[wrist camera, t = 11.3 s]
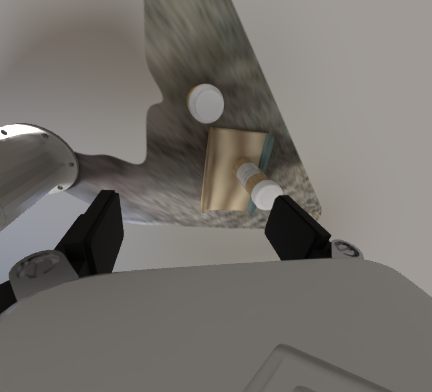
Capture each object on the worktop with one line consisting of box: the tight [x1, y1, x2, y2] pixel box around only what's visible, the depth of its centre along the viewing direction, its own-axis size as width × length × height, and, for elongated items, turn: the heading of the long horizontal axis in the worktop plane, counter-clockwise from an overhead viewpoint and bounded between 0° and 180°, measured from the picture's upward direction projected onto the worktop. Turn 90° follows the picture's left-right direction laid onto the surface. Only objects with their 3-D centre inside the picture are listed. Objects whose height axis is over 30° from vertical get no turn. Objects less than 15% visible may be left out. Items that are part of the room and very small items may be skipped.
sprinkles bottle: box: [232, 158, 283, 210], centre depth 34 cm, size 5×5×14 cm
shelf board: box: [201, 126, 275, 216], centre depth 40 cm, size 12×18×4 cm, turn 172°
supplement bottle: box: [187, 84, 224, 123], centre depth 30 cm, size 5×5×10 cm
